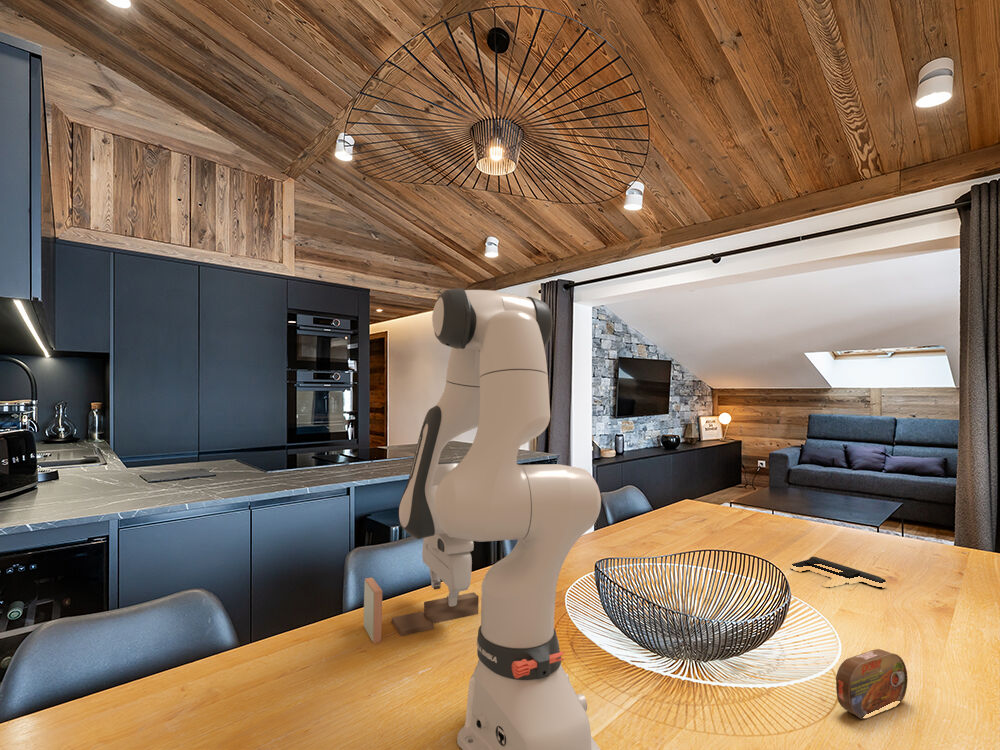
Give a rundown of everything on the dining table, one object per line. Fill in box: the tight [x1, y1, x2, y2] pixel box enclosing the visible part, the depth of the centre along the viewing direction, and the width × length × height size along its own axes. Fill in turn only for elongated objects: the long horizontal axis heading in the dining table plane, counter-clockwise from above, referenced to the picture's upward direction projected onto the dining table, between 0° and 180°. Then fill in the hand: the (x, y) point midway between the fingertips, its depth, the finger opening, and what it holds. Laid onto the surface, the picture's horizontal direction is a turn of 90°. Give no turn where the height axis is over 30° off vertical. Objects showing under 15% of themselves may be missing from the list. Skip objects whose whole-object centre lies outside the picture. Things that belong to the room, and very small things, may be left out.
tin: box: [835, 648, 908, 720], centre depth 82 cm, size 15×3×8 cm, turn 114°
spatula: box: [391, 592, 479, 637], centre depth 111 cm, size 18×7×4 cm, turn 118°
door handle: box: [791, 556, 887, 583], centre depth 140 cm, size 3×20×16 cm
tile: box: [363, 577, 383, 644], centre depth 104 cm, size 8×2×10 cm, turn 28°
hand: (443, 596), depth 112 cm, fingers open, 8 cm apart
